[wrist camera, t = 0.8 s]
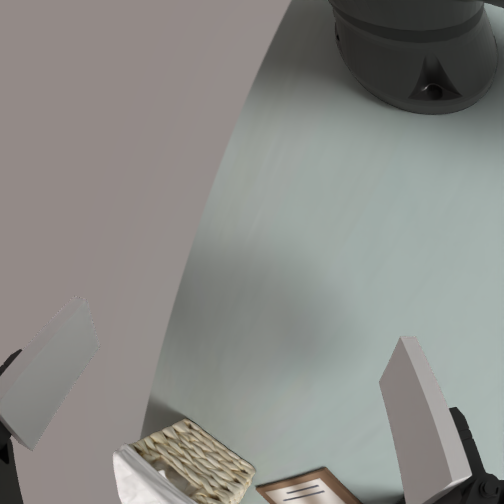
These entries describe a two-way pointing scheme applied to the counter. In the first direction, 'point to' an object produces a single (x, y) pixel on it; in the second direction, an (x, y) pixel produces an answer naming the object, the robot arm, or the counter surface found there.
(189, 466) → the storage basket
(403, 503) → the supplement bottle
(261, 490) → the clipboard
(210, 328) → the counter surface
